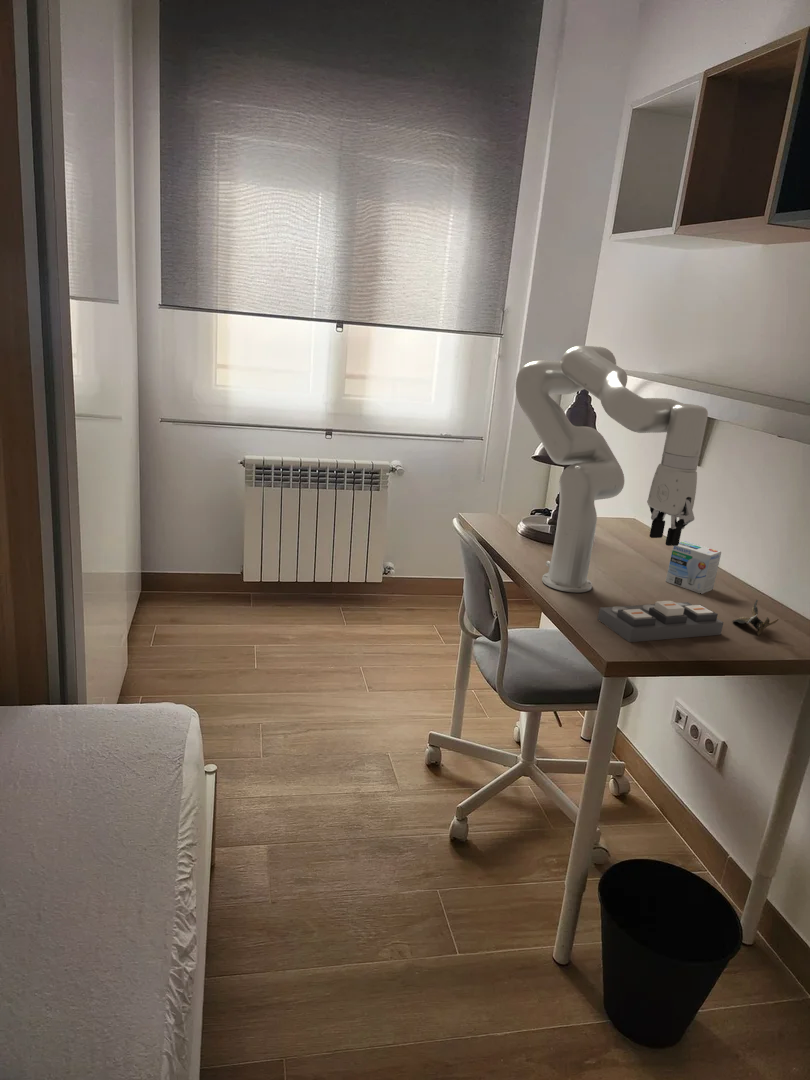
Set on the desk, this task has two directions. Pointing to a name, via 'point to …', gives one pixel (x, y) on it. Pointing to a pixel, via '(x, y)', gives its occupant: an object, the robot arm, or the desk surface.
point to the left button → (637, 613)
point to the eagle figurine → (755, 620)
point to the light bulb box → (693, 567)
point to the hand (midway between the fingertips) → (663, 540)
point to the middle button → (669, 608)
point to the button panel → (659, 623)
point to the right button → (698, 609)
